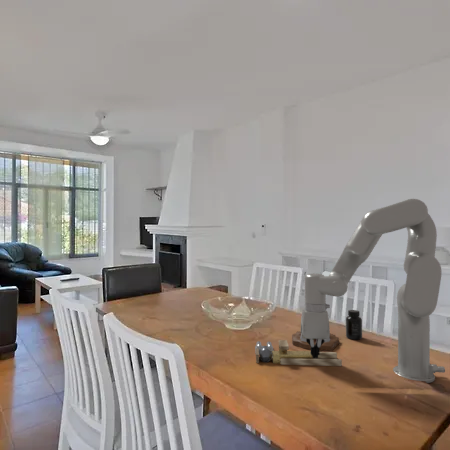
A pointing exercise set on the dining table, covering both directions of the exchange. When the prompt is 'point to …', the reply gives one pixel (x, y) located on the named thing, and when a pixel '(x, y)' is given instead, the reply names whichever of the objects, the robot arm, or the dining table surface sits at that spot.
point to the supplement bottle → (354, 325)
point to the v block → (261, 346)
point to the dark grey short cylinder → (265, 354)
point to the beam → (284, 346)
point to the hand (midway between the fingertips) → (315, 356)
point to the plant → (325, 346)
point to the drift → (290, 355)
